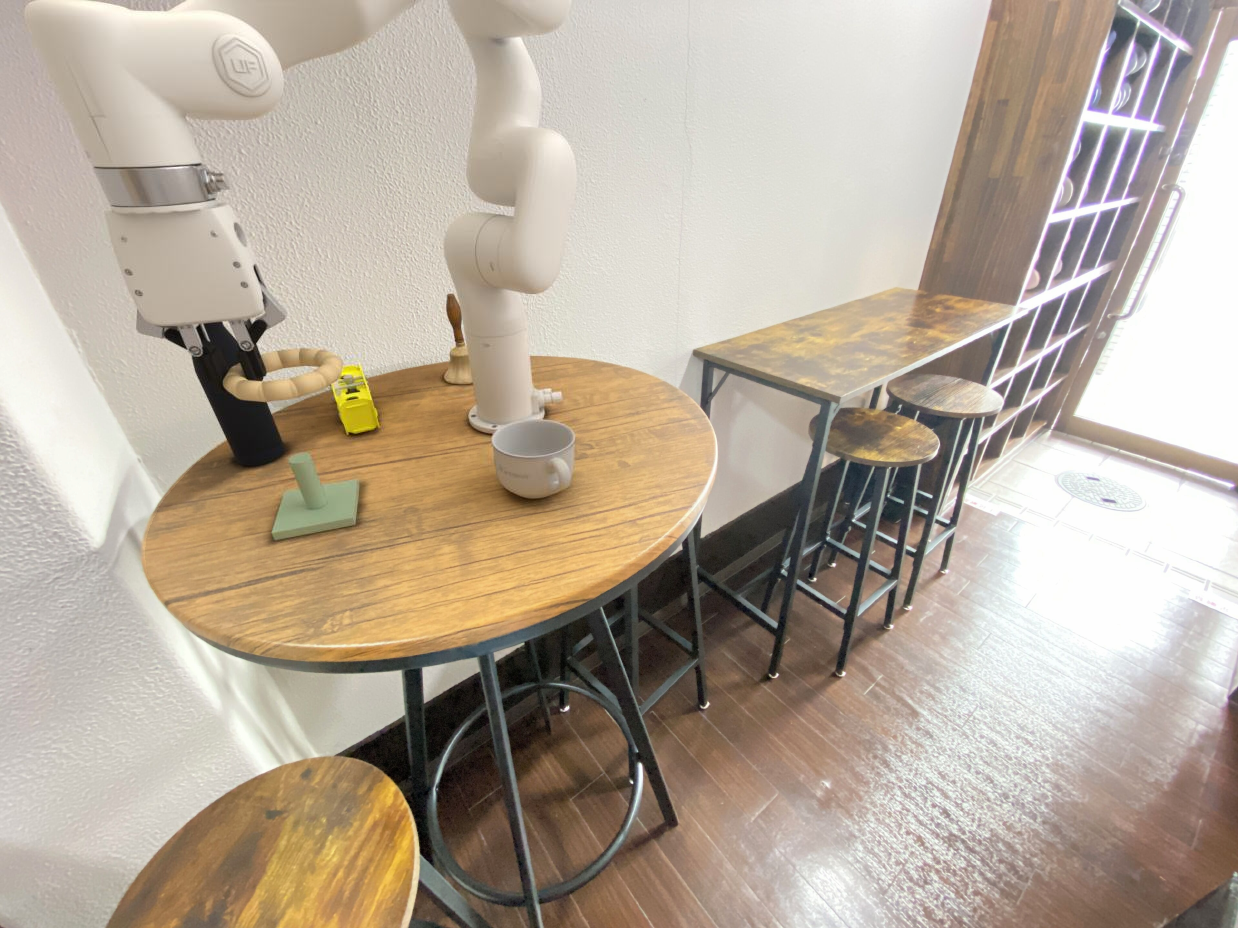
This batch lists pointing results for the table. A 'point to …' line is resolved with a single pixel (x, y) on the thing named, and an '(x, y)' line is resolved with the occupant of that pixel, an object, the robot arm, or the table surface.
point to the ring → (286, 388)
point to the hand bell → (457, 347)
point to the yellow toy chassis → (354, 400)
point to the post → (314, 502)
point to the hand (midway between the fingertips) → (241, 384)
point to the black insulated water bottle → (240, 409)
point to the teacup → (534, 457)
